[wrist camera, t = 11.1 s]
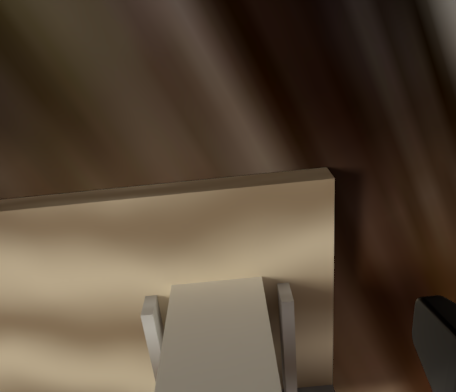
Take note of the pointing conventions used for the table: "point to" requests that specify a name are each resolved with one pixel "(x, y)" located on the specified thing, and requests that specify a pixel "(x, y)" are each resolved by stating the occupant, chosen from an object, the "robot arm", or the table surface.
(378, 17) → the table surface
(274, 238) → the flat beige panel
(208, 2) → the table surface
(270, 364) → the carton
